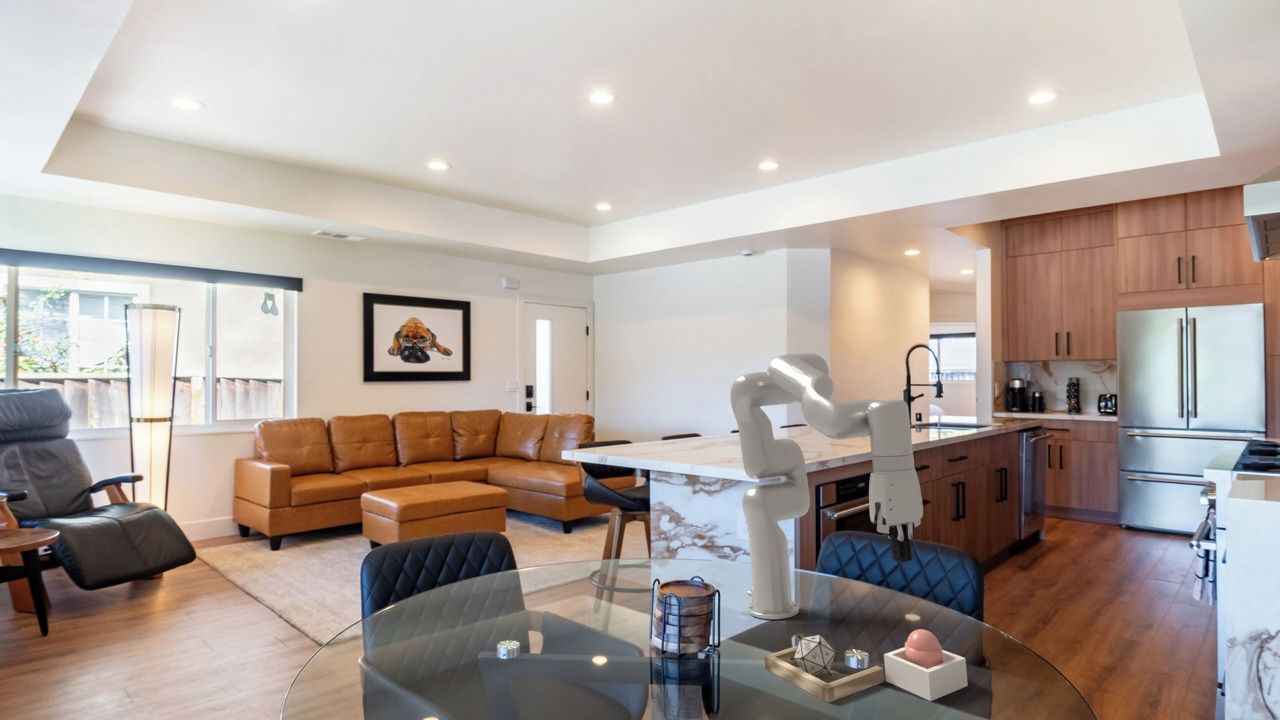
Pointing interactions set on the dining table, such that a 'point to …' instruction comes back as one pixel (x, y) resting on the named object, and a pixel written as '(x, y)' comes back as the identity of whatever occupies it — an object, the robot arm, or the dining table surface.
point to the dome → (923, 649)
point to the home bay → (815, 686)
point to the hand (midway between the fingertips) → (902, 559)
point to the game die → (814, 655)
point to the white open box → (926, 674)
